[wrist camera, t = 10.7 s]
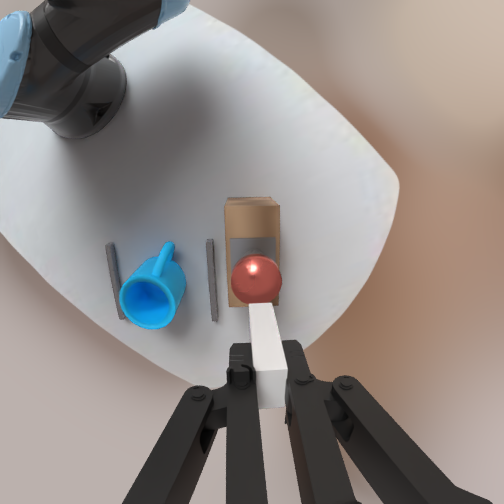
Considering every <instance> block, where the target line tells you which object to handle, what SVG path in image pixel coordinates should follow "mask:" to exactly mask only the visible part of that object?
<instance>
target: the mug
mask: <svg viewBox="0 0 504 504" xmlns="http://www.w3.org/2000/svg"><path fill="white" fill-rule="evenodd" d="M174 249H175V245H174V243H173V242H171V241H168V242H166V243H165V245H164V246H163V248H162V250H161V252H160V254H159V256H158V257H152V258H150V259H147V260H146V261H145V262H144V263H143V264H142V265H141V266H140V267H139V268H138V269H137V270H136V271H135V272H134V273H133V274H132V275H131V276H130V277H129V279H128V280H127V281H126V282H125V283H124V284H123V285H122V288H121V290H120V295H119V301H120V305H121V309H122V310H123V312H124V314H125V315H126V317H127V318H128V319H129V320H130V321H131V322H132V323H134V324H136V325H138V326H139V327H142V328H145V329H160V328H162V327H165V326H166V325H167V324H169V323H170V322H171V320H172V319H173V317H174V315H175V313H176V310H177V308H178V306H179V303H180V301H181V298H182V296H183V294H184V291H185V287H186V279H185V275H184V273H183V271H182V269H181V267H180V266H179V265H178V264H177V263H176V262H174V261H173V260H172V257H173V253H174Z"/></svg>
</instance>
